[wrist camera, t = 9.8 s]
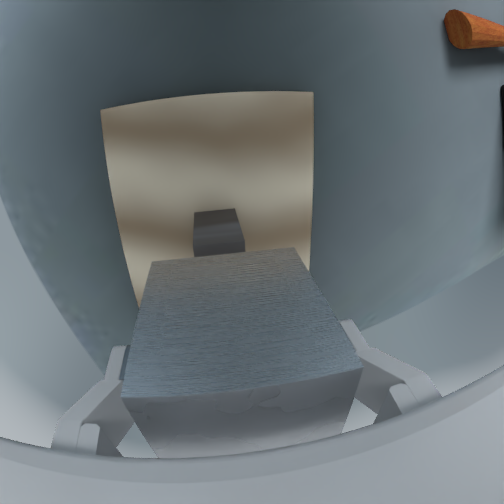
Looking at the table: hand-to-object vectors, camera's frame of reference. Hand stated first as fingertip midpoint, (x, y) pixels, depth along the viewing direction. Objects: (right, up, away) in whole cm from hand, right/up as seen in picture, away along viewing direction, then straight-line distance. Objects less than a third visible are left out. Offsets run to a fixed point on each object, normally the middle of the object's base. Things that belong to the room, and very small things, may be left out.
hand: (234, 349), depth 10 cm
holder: (-2, +5, +10) cm, 11 cm away
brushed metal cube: (0, +1, +2) cm, 2 cm away
